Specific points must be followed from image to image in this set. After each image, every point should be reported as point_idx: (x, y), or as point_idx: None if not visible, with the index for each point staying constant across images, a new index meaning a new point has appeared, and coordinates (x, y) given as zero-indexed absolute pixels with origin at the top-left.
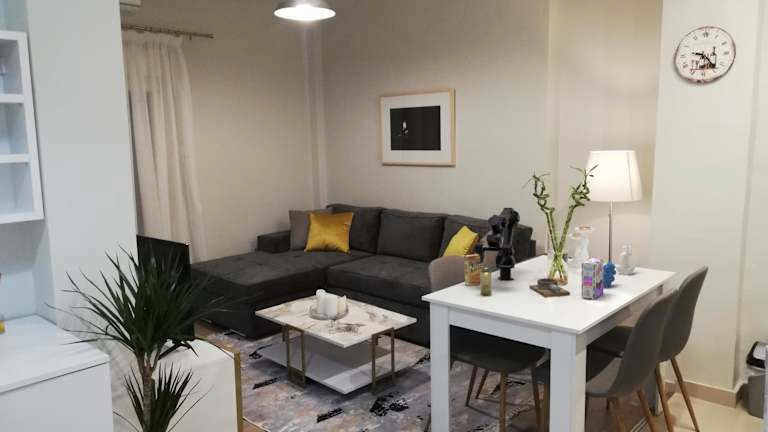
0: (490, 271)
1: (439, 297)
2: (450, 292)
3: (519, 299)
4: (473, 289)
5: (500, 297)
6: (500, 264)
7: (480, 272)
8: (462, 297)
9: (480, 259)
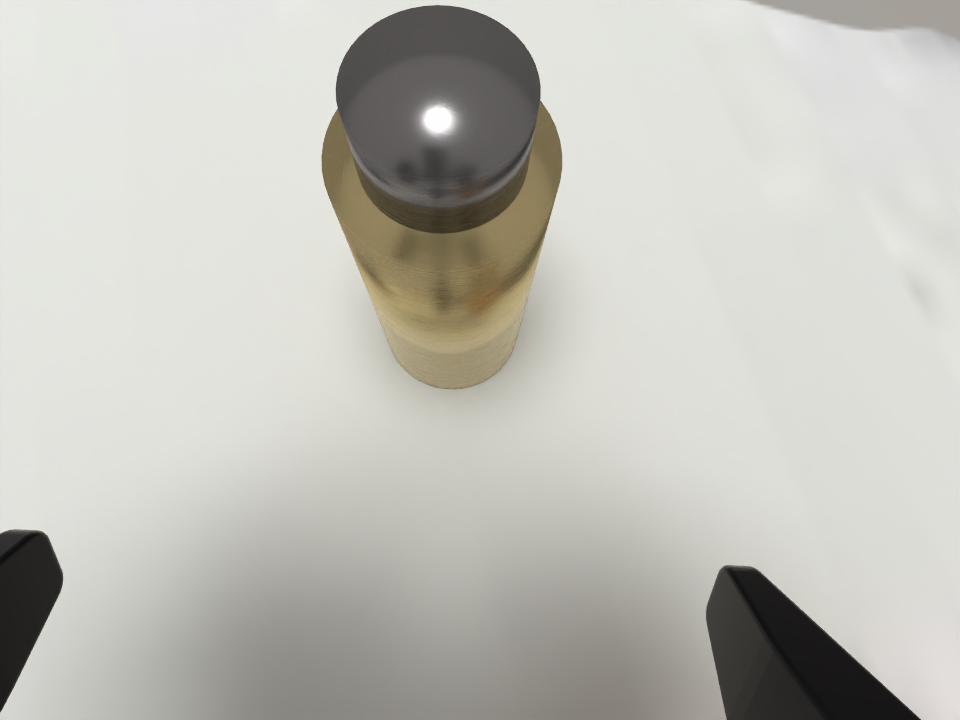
0: (345, 224)
1: (904, 109)
2: (903, 338)
3: (41, 221)
4: (694, 573)
5: (265, 254)
6: (33, 555)
7: (542, 106)
8: (676, 161)
9: (862, 668)
